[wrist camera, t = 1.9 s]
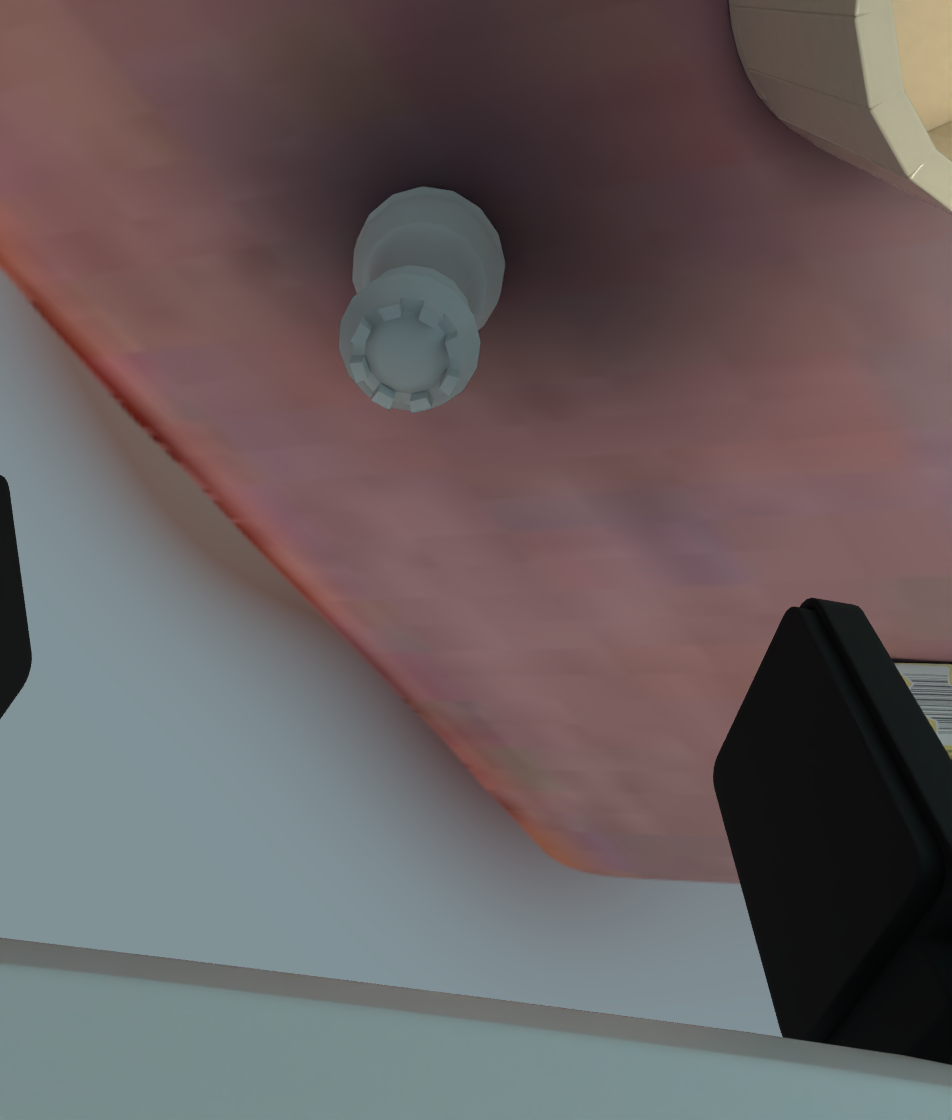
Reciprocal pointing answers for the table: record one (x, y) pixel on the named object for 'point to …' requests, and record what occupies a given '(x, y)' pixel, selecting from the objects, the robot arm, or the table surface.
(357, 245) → the rook chess piece
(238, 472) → the table surface
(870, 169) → the mug
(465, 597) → the table surface
